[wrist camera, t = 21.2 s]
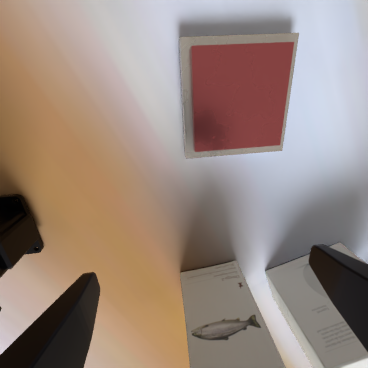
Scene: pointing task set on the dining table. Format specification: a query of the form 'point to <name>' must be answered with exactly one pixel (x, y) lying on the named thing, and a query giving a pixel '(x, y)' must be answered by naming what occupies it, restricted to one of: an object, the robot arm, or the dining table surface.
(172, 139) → the dining table surface
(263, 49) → the ink pad
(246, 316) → the supplement box
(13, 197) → the robot arm
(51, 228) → the dining table surface
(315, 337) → the skincare box
